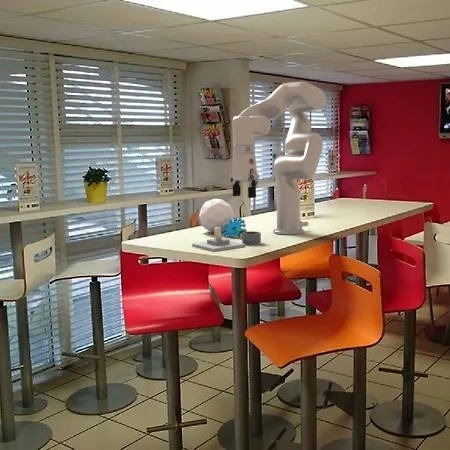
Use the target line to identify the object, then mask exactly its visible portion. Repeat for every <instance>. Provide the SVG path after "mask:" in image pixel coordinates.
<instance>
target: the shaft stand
mask: <svg viewBox="0 0 450 450" xmlns="http://www.w3.org/2000/svg"><path fill="white" fill-rule="evenodd" d="M213 234H214V235H213V237H214V238H210V239H206V241H202V242H194V243H191V246H192V247H194V248H197V249H201V250H202V249H203V250H204V251H205V250H206V251H210V252H219V251H226V250H231V249H232V250H234V249H240V248H245V247H246V245H245V244H243V243H242V242H237V241H233V240H230V239H229V238H224V237H223V238H222V232H221V227H216V228H215V230H214V232H213Z"/></svg>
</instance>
